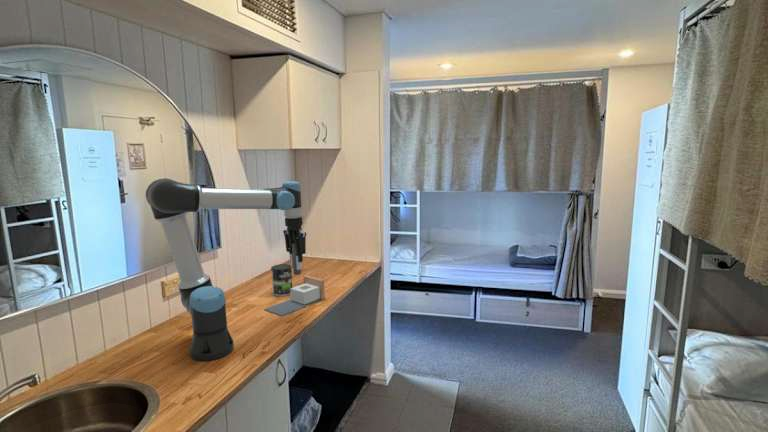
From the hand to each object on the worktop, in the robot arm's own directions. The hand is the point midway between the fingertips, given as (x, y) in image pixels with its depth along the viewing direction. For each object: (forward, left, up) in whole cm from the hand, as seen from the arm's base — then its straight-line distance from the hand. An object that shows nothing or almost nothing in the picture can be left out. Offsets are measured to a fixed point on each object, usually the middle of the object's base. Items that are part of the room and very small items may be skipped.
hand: (297, 268), depth 185 cm
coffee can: (+13, +28, -21) cm, 37 cm away
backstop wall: (+18, +10, -21) cm, 29 cm away
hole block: (+12, +9, -21) cm, 26 cm away
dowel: (0, 0, -3) cm, 3 cm away
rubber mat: (+6, +10, -21) cm, 24 cm away
